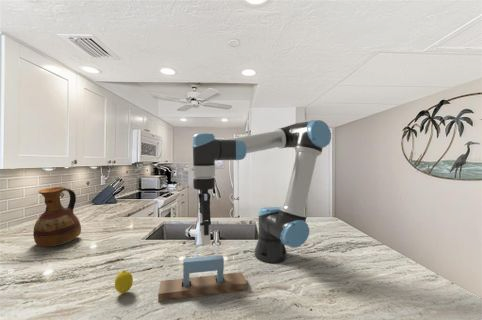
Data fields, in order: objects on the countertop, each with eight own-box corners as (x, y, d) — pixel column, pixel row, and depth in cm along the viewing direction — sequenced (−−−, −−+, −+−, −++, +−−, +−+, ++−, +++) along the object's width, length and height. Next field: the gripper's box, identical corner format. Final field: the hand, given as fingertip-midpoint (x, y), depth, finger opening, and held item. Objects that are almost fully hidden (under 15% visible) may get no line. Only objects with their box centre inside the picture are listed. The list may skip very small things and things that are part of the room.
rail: (241, 278, 92) (241, 272, 92) (246, 290, 84) (247, 283, 84) (160, 287, 85) (160, 280, 85) (158, 301, 77) (158, 293, 77)
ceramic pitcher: (25, 246, 121) (24, 188, 120) (66, 233, 139) (66, 183, 139) (48, 252, 113) (47, 190, 113) (89, 238, 132) (88, 185, 131)
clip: (222, 284, 87) (222, 255, 87) (223, 288, 84) (223, 258, 84) (183, 288, 84) (183, 258, 84) (183, 293, 81) (183, 262, 81)
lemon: (119, 289, 84) (118, 267, 83) (135, 288, 84) (135, 266, 84) (111, 298, 78) (111, 275, 78) (129, 298, 79) (129, 274, 78)
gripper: (192, 174, 94) (193, 226, 95) (194, 182, 70) (195, 252, 71) (211, 174, 96) (211, 225, 97) (219, 181, 72) (219, 250, 73)
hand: (204, 236), depth 84 cm, fingers open, 13 cm apart
